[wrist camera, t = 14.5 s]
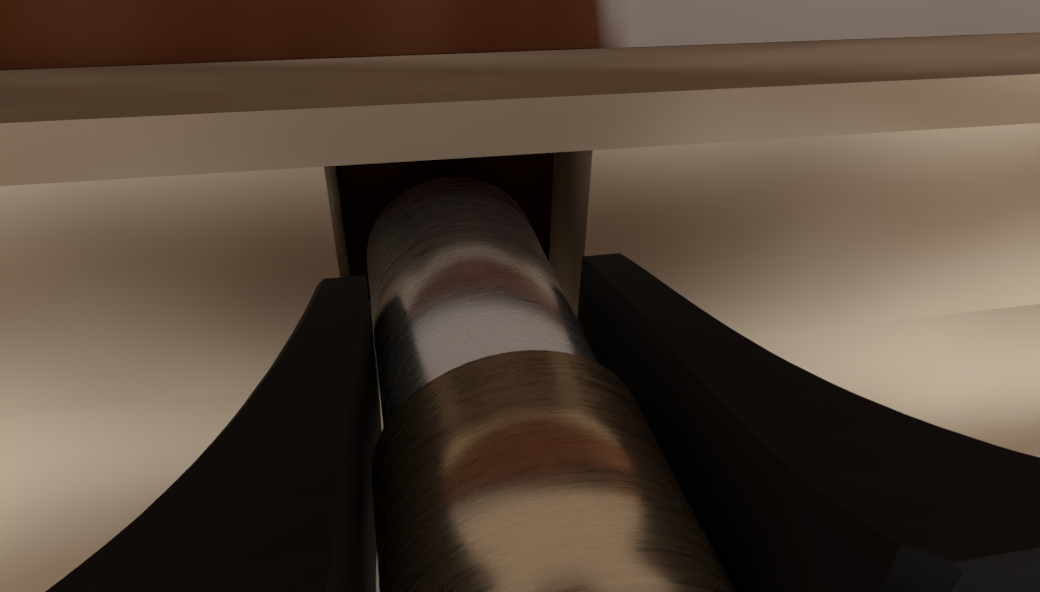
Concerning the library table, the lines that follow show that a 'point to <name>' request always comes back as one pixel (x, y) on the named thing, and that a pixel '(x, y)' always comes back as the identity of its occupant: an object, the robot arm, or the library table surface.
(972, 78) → the board
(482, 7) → the library table surface
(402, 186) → the library table surface
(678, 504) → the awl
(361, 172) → the library table surface
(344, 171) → the library table surface
